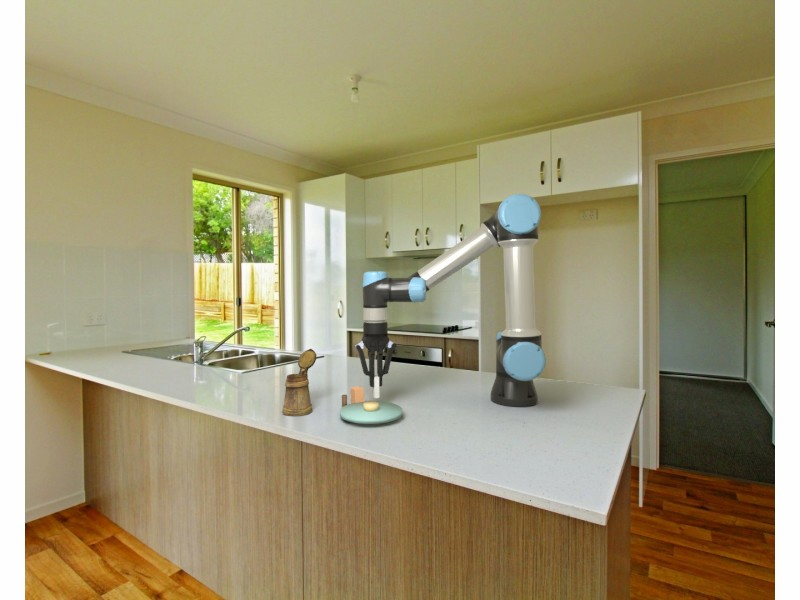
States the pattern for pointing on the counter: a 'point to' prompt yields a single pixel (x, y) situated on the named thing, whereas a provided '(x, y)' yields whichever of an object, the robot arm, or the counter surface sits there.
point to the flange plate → (371, 416)
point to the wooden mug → (299, 387)
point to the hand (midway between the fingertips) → (376, 396)
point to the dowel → (344, 400)
